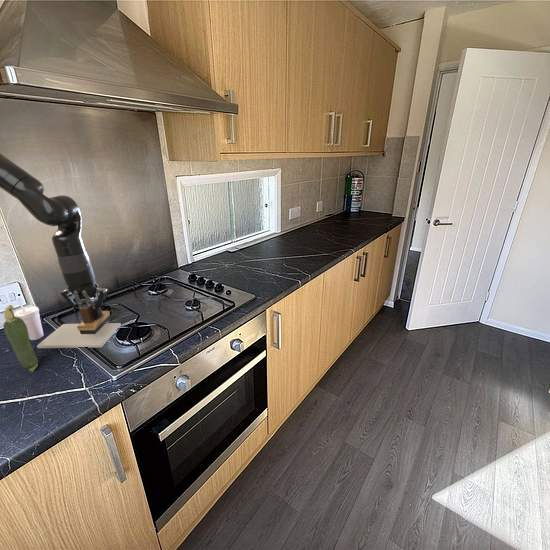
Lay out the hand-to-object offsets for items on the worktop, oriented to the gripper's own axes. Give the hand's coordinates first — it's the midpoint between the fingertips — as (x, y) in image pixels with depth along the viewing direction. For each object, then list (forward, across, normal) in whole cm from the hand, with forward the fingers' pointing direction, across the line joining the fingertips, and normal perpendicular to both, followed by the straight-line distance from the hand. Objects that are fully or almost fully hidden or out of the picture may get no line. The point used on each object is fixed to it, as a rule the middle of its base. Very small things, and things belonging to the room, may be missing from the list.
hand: (93, 318), depth 92 cm
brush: (+3, 0, 0) cm, 3 cm away
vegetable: (+7, +10, +15) cm, 19 cm away
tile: (+7, +6, 0) cm, 9 cm away
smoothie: (+7, +21, 0) cm, 22 cm away
